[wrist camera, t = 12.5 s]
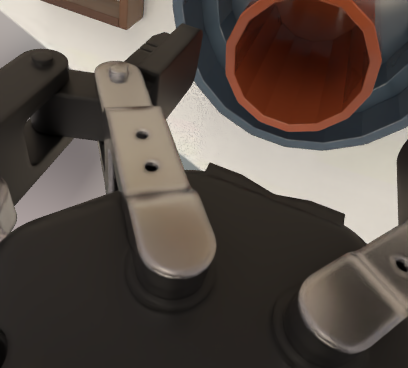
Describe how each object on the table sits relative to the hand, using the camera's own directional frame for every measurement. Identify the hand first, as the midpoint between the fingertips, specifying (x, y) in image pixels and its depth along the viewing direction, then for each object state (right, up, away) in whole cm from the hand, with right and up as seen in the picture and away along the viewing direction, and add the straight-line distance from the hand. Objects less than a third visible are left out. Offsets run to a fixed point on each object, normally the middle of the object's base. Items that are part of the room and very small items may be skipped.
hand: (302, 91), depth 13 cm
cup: (+3, +8, +8) cm, 12 cm away
